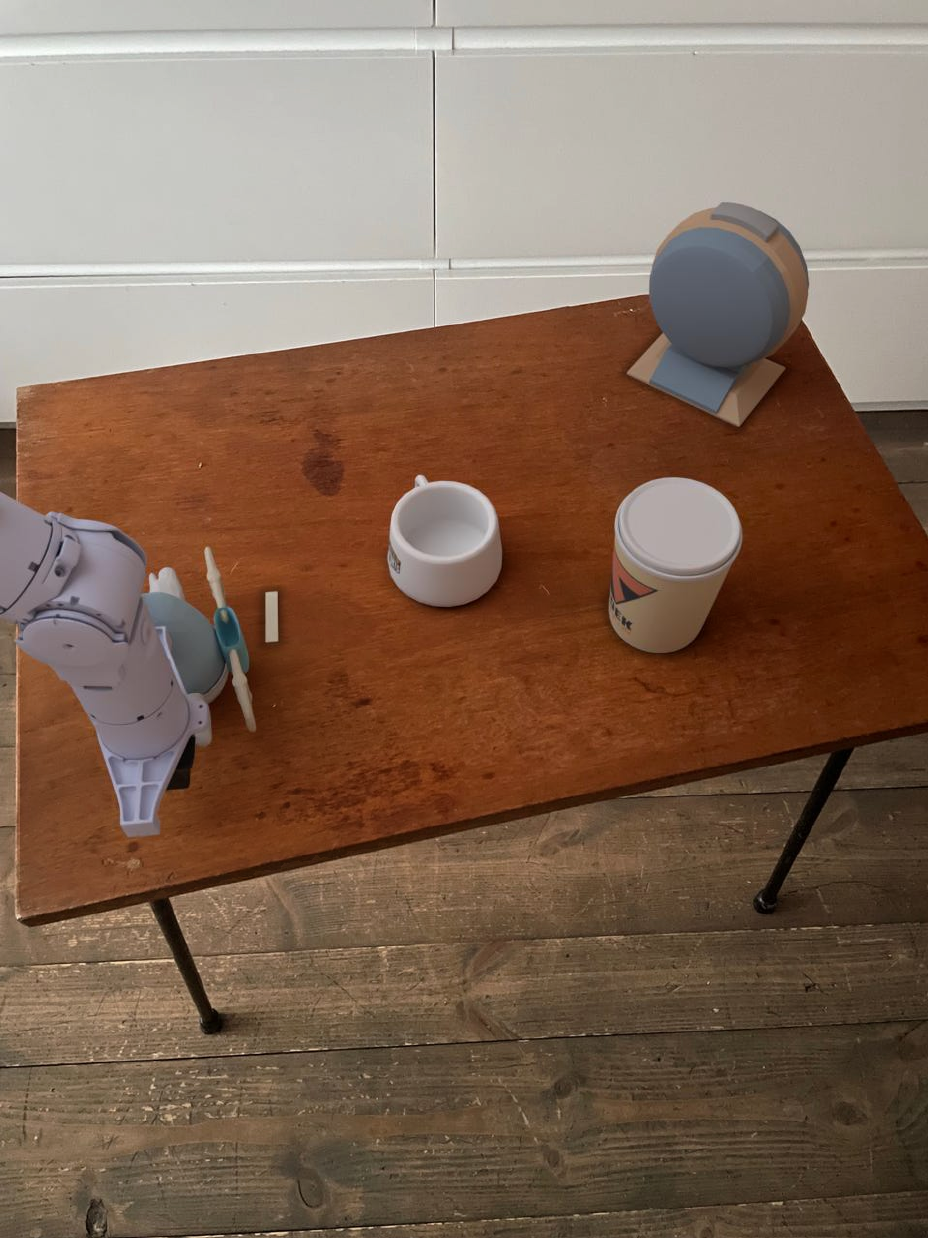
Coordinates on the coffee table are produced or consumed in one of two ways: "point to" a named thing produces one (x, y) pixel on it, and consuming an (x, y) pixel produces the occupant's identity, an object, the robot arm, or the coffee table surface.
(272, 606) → the tape marks
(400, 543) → the mug
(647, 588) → the coffee cup
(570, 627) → the coffee table surface
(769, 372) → the alarm clock
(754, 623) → the coffee table surface
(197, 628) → the toy figure
